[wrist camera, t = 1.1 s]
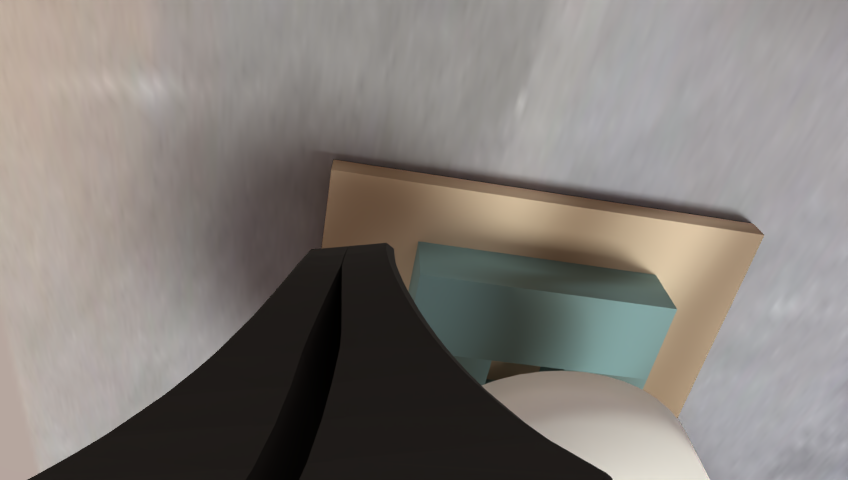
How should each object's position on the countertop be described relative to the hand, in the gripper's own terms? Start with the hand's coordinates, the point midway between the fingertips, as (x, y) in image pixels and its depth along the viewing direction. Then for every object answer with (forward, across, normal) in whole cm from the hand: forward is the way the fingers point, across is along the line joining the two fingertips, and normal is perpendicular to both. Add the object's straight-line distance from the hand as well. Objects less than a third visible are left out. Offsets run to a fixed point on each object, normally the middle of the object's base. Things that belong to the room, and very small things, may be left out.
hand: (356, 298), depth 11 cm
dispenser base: (+10, -4, +9) cm, 14 cm away
